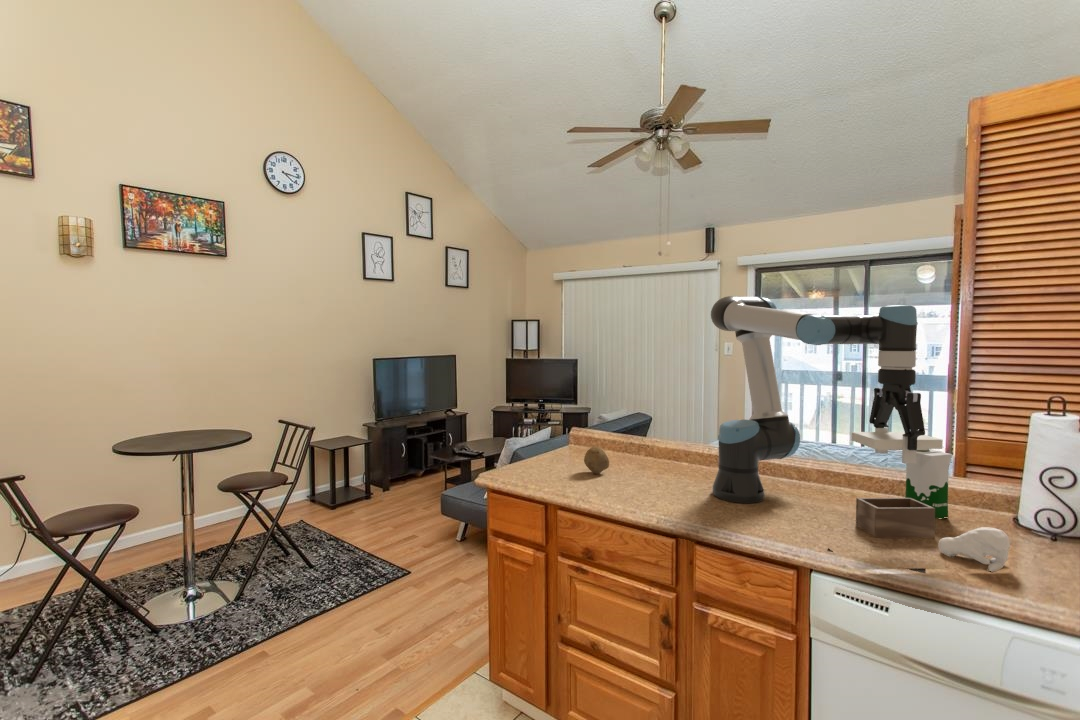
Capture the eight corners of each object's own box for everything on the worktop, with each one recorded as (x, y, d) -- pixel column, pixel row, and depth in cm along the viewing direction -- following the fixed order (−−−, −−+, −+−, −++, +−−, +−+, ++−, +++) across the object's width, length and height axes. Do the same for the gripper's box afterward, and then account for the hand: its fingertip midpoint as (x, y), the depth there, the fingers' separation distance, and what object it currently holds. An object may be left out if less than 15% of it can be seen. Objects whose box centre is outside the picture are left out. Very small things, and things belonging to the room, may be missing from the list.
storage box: (855, 528, 128) (856, 498, 128) (910, 528, 128) (910, 497, 128) (876, 540, 120) (877, 508, 120) (934, 540, 120) (935, 508, 120)
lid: (851, 443, 128) (851, 431, 128) (913, 443, 127) (914, 432, 127) (874, 451, 118) (874, 439, 118) (942, 452, 117) (942, 439, 117)
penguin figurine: (1008, 535, 101) (934, 525, 110) (1013, 576, 101) (938, 564, 109) (1008, 526, 106) (937, 518, 114) (1012, 566, 106) (941, 555, 114)
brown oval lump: (579, 471, 185) (579, 445, 184) (599, 468, 189) (599, 443, 188) (591, 477, 177) (591, 450, 176) (612, 474, 180) (612, 447, 180)
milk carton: (921, 508, 142) (922, 440, 142) (955, 519, 134) (957, 446, 133) (897, 511, 140) (899, 442, 139) (930, 523, 131) (932, 448, 130)
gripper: (947, 371, 110) (944, 469, 111) (883, 365, 133) (881, 448, 134) (912, 371, 111) (909, 469, 112) (854, 365, 133) (853, 447, 134)
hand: (894, 457), depth 123 cm, fingers closed on lid, 10 cm apart
